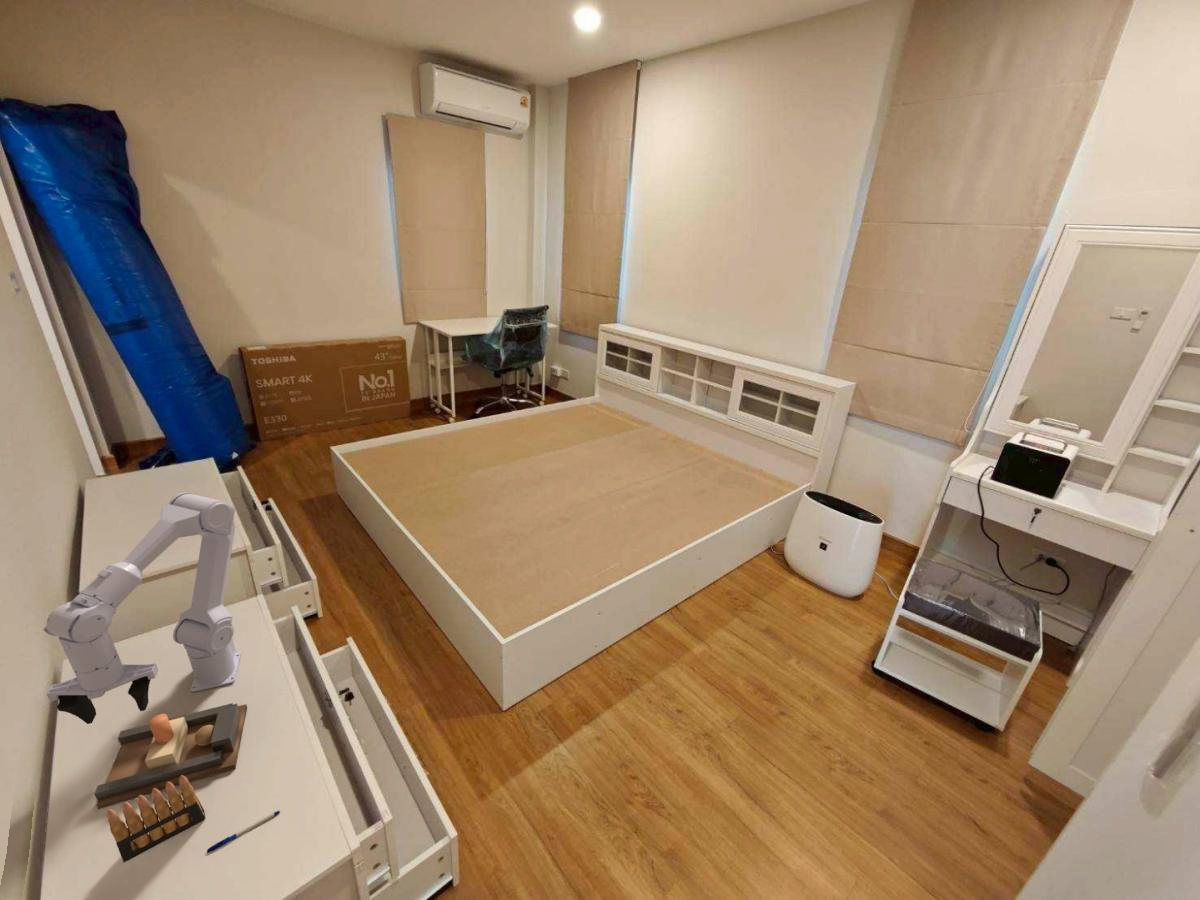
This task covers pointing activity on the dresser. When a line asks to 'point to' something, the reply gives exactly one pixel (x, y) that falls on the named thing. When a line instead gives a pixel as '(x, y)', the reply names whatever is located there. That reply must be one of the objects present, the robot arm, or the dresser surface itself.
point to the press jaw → (166, 741)
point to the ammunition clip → (155, 819)
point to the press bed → (201, 756)
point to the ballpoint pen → (240, 833)
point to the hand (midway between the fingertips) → (118, 712)
